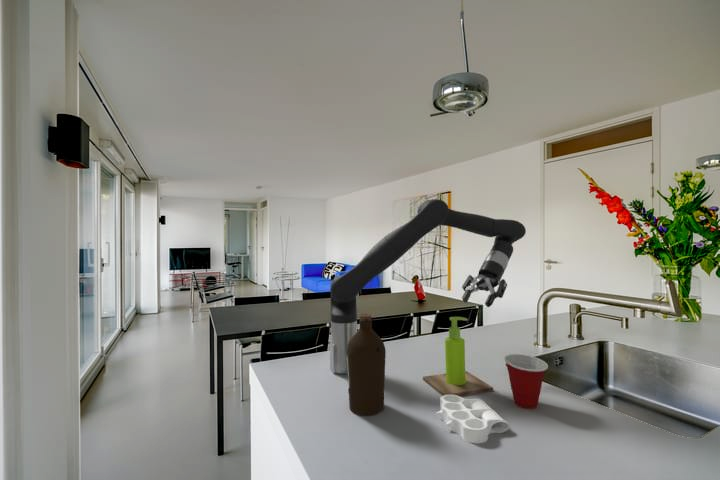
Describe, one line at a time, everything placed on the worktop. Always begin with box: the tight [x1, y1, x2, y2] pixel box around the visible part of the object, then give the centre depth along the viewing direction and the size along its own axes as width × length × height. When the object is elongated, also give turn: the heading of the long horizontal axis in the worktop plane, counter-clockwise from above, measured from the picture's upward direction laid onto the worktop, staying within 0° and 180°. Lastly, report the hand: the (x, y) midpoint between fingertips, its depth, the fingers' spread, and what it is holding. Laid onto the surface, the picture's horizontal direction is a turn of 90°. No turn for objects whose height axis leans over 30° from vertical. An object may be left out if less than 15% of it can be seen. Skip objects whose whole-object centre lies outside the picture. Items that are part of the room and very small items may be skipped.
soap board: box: [422, 370, 494, 397], centre depth 106 cm, size 16×14×1 cm
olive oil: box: [346, 313, 387, 416], centre depth 93 cm, size 11×11×25 cm
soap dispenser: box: [444, 316, 469, 385], centre depth 106 cm, size 6×7×20 cm
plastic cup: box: [504, 353, 549, 410], centre depth 93 cm, size 11×11×12 cm
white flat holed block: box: [435, 395, 510, 444], centre depth 85 cm, size 3×18×15 cm
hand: (475, 303), depth 114 cm, fingers open, 8 cm apart
